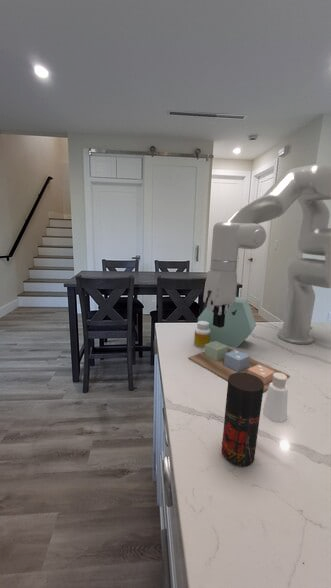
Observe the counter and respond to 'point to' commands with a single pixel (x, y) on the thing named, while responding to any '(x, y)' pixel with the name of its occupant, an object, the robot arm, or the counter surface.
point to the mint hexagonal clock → (231, 323)
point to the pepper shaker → (276, 399)
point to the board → (224, 371)
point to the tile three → (262, 373)
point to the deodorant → (242, 418)
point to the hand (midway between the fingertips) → (218, 325)
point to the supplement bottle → (202, 334)
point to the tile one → (215, 350)
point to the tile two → (236, 361)
